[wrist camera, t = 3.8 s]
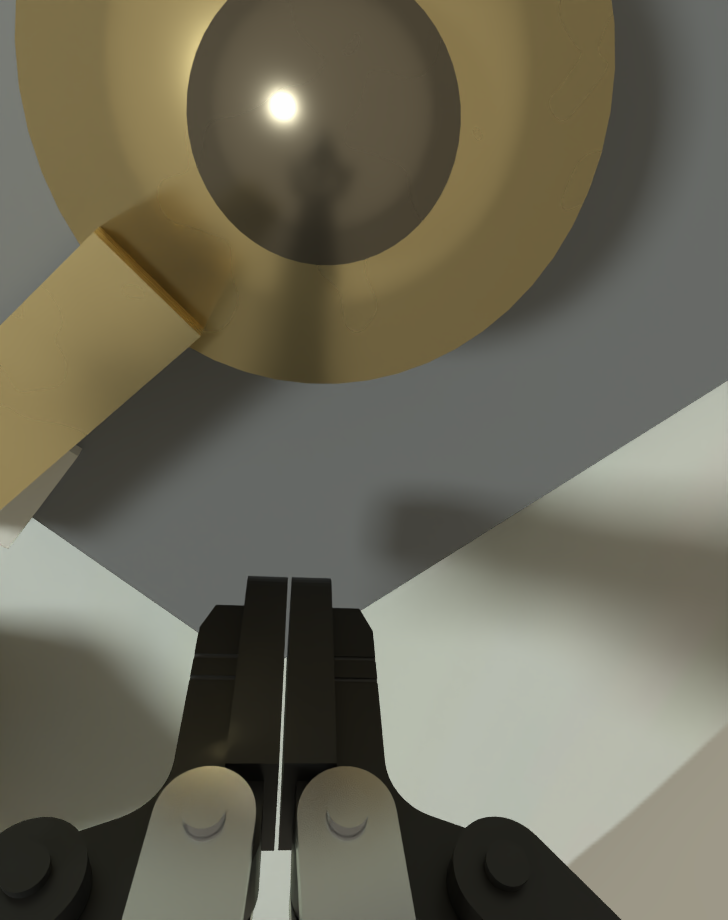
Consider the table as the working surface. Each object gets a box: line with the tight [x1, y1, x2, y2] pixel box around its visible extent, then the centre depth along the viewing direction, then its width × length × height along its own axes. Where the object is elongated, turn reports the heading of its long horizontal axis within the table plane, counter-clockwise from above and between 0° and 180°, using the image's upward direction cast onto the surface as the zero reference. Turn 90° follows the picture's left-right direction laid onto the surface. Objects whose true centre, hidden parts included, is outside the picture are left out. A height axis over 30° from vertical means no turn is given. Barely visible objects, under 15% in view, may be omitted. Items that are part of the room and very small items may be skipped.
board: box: [0, 0, 728, 658], centre depth 11 cm, size 21×18×2 cm
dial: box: [0, 0, 615, 510], centre depth 10 cm, size 15×7×4 cm, turn 129°
